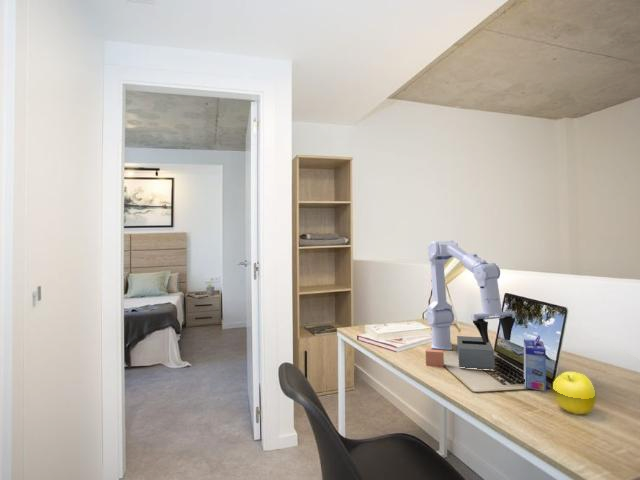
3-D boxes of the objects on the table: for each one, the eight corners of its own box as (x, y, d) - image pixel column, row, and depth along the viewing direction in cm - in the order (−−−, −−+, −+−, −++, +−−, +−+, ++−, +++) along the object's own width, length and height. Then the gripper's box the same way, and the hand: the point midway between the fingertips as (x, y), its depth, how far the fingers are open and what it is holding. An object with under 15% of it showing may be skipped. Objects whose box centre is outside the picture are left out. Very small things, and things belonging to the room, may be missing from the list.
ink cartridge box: (547, 392, 99) (545, 341, 100) (525, 389, 102) (523, 339, 102) (544, 379, 108) (542, 333, 108) (523, 377, 111) (521, 331, 111)
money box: (457, 354, 135) (457, 335, 135) (489, 356, 131) (488, 337, 131) (459, 368, 120) (458, 348, 120) (494, 371, 116) (494, 350, 116)
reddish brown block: (426, 362, 126) (425, 349, 126) (443, 364, 124) (443, 350, 124) (426, 365, 124) (425, 351, 124) (443, 366, 122) (443, 352, 122)
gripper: (476, 301, 112) (482, 344, 110) (518, 298, 114) (525, 340, 112) (465, 301, 119) (471, 341, 117) (505, 297, 121) (511, 338, 119)
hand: (496, 341), depth 115 cm, fingers open, 7 cm apart
